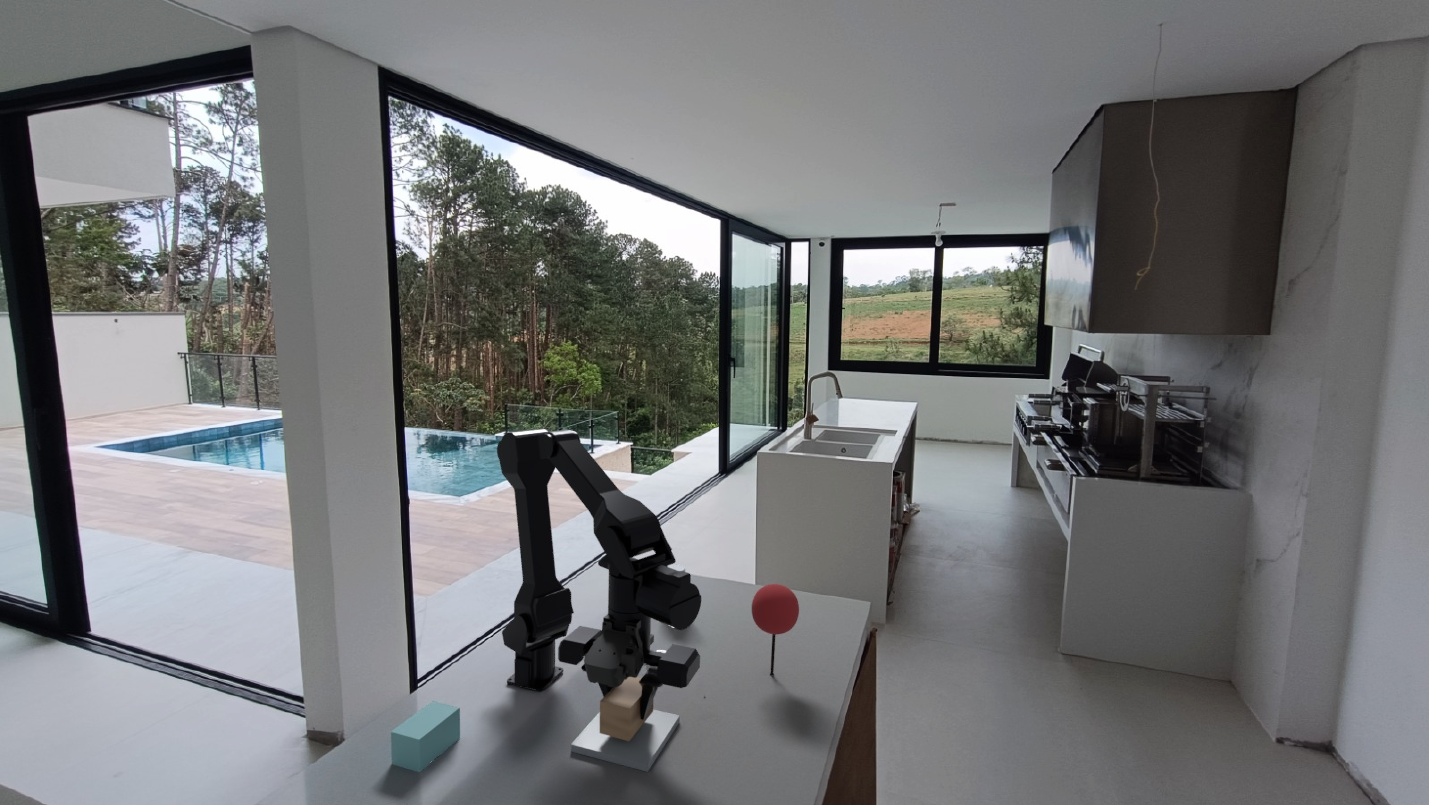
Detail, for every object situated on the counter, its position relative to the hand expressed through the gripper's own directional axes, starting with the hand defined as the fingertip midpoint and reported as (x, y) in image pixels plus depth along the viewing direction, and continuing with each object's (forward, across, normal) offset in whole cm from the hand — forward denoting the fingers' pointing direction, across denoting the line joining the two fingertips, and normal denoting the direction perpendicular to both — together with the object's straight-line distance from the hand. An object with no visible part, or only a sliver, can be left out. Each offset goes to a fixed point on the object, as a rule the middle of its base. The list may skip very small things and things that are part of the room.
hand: (627, 714), depth 86 cm
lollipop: (+3, +15, +23) cm, 28 cm away
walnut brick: (+1, 0, 0) cm, 1 cm away
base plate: (+3, 0, 0) cm, 3 cm away
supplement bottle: (+4, -8, +37) cm, 38 cm away
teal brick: (+3, -23, -12) cm, 26 cm away
